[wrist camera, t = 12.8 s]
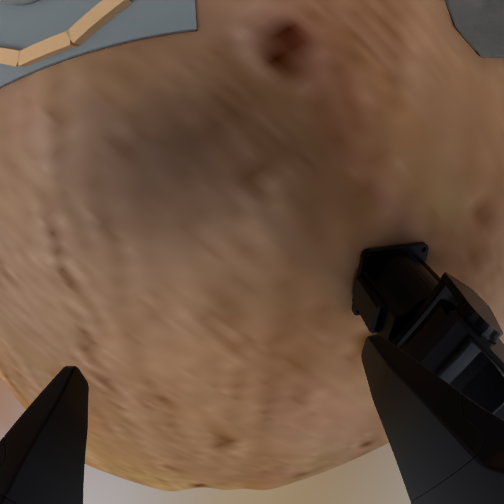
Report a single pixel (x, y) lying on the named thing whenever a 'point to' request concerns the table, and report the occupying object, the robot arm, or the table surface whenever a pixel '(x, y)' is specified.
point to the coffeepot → (480, 24)
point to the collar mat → (81, 29)
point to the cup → (17, 1)
